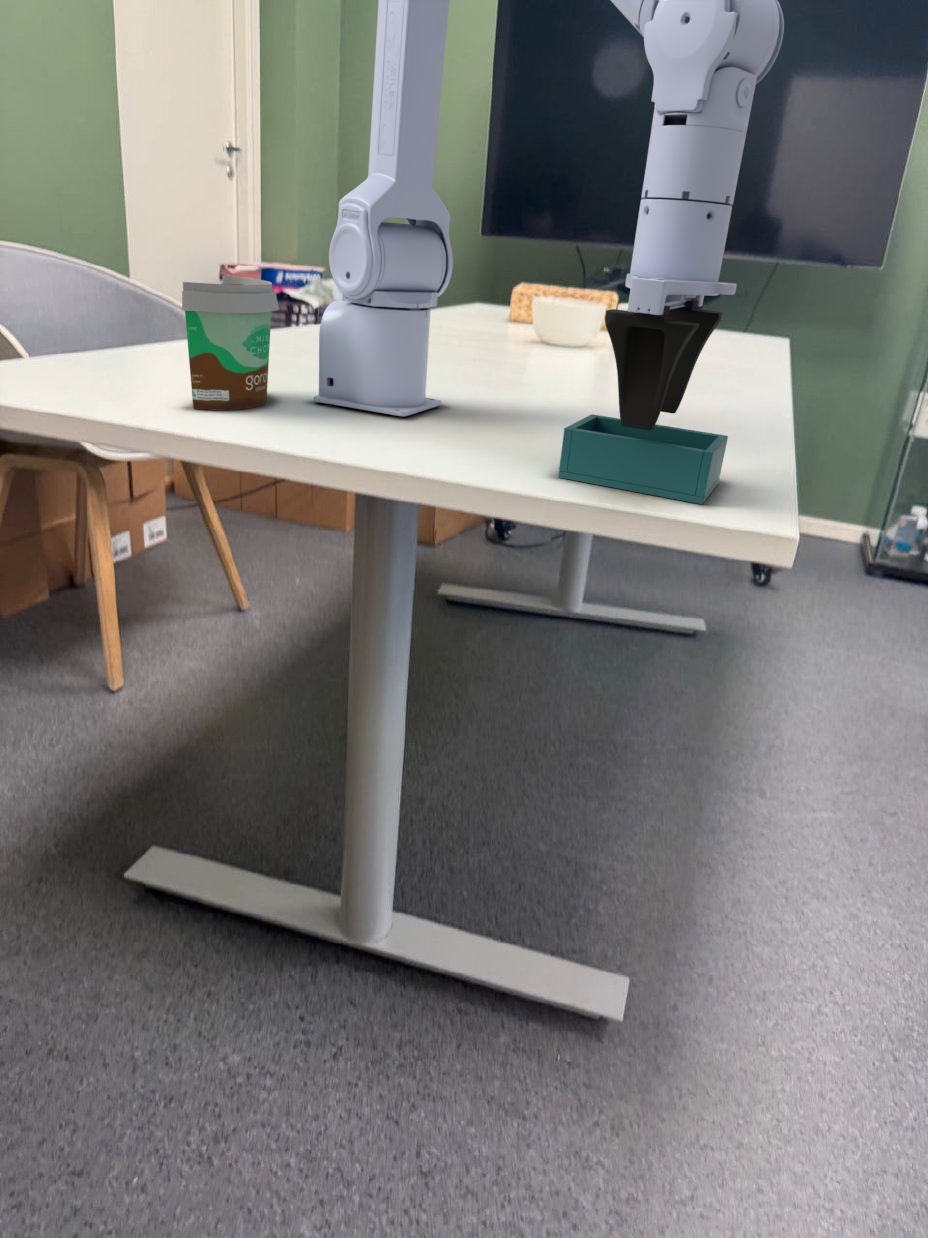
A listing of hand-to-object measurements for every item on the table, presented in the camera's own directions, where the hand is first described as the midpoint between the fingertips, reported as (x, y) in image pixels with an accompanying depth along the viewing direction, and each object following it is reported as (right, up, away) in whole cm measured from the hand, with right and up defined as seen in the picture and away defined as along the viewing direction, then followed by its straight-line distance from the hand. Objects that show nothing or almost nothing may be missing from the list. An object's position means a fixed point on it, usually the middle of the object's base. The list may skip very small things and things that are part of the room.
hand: (649, 418), depth 59 cm
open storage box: (0, -4, +2) cm, 4 cm away
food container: (-33, +5, +16) cm, 37 cm away
